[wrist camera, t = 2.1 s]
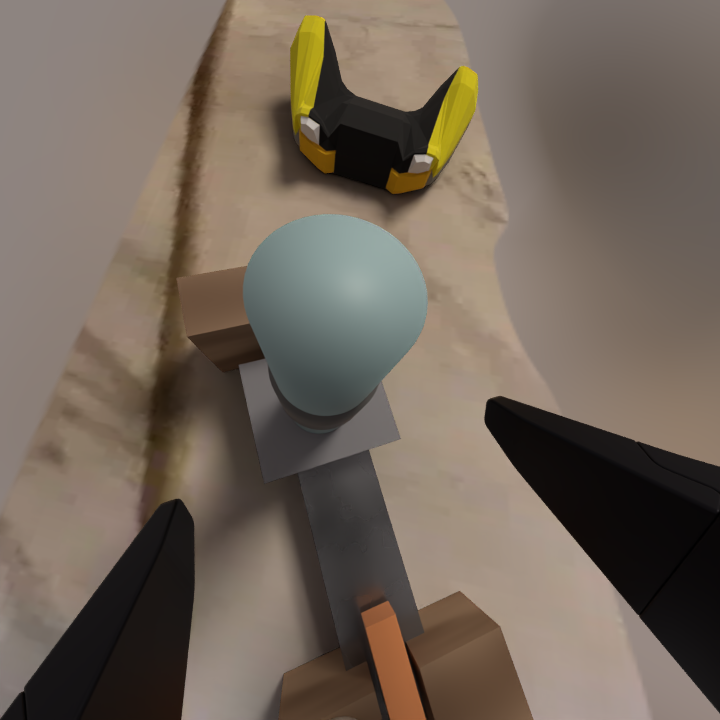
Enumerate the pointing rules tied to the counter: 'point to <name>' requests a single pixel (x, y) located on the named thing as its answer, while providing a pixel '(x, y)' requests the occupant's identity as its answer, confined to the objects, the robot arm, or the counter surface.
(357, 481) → the track
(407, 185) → the gaming controller
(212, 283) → the end cabinet
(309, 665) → the end cabinet
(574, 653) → the counter surface
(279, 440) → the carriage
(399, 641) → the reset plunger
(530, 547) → the counter surface
